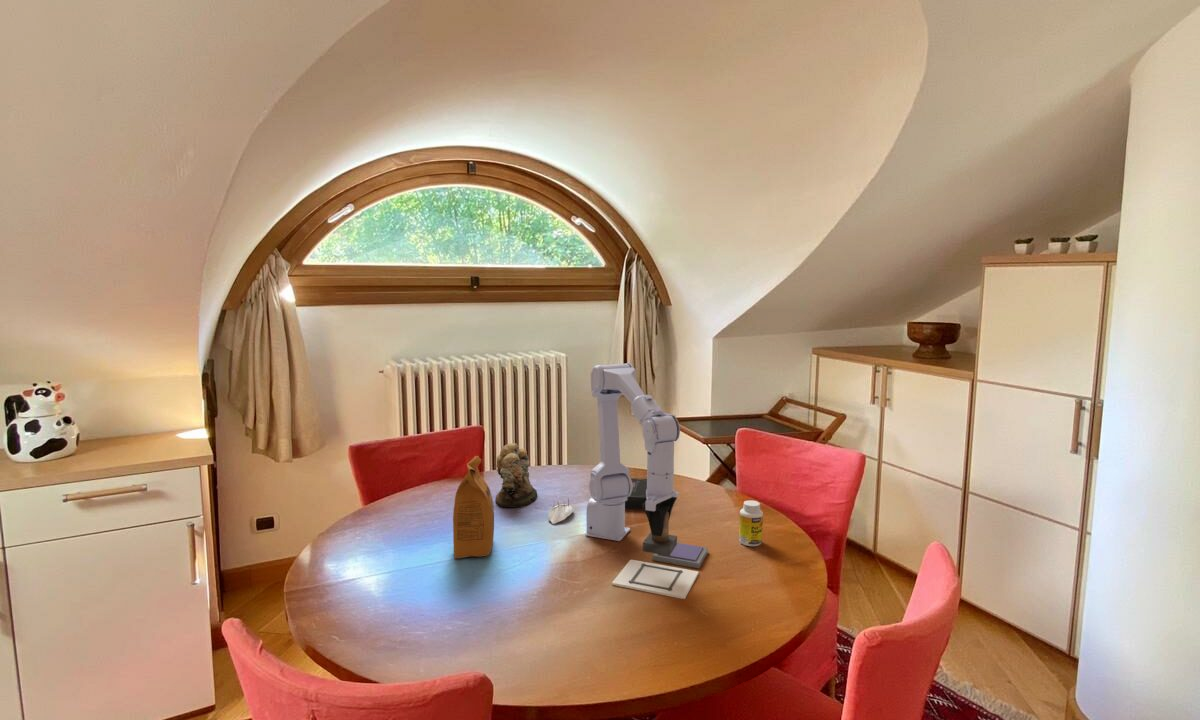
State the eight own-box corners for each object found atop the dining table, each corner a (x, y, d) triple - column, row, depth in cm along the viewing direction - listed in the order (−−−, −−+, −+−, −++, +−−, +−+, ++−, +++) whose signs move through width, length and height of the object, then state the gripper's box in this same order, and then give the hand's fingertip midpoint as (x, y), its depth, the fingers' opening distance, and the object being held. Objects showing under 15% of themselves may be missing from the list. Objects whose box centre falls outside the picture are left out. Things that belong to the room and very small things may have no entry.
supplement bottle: (750, 549, 154) (752, 508, 152) (734, 541, 158) (735, 501, 157) (766, 543, 157) (768, 504, 155) (749, 536, 161) (751, 497, 160)
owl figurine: (530, 511, 179) (529, 452, 176) (489, 510, 180) (487, 451, 177) (541, 488, 197) (539, 435, 194) (503, 488, 197) (501, 434, 195)
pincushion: (564, 527, 168) (564, 506, 167) (542, 524, 170) (542, 504, 169) (578, 510, 179) (578, 491, 178) (558, 508, 181) (557, 489, 180)
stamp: (642, 551, 137) (642, 515, 136) (650, 540, 143) (651, 506, 142) (669, 555, 135) (670, 519, 134) (676, 544, 141) (677, 509, 140)
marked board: (611, 584, 136) (612, 581, 136) (630, 561, 147) (630, 558, 147) (684, 599, 130) (684, 596, 130) (698, 573, 141) (698, 570, 141)
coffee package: (499, 538, 160) (497, 453, 157) (491, 560, 148) (489, 469, 145) (460, 538, 160) (457, 453, 157) (448, 560, 148) (445, 469, 145)
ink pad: (652, 560, 148) (652, 554, 148) (663, 544, 156) (663, 539, 156) (699, 568, 144) (699, 562, 144) (707, 552, 152) (708, 546, 152)
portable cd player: (607, 489, 197) (607, 477, 197) (663, 492, 195) (663, 479, 194) (600, 509, 181) (600, 495, 181) (661, 512, 179) (661, 498, 178)
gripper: (669, 483, 129) (668, 547, 130) (686, 463, 142) (685, 522, 144) (636, 479, 131) (635, 542, 133) (656, 460, 144) (655, 517, 146)
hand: (659, 531), depth 139 cm, fingers closed on stamp, 4 cm apart
